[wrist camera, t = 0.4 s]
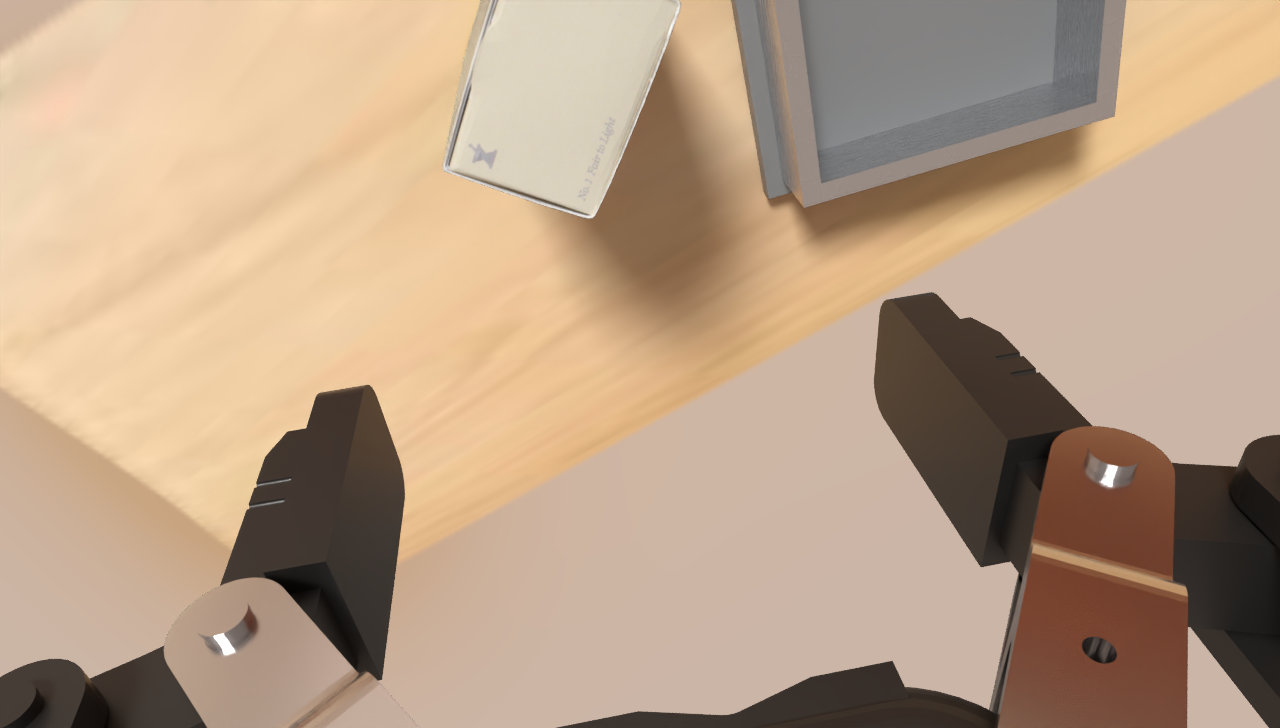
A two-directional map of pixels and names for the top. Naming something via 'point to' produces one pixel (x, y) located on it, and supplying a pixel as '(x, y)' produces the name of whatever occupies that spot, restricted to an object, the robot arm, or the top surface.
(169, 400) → the top surface
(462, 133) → the skincare box
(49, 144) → the top surface
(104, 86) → the top surface
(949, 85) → the slate base plate
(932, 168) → the shallow grey tray
